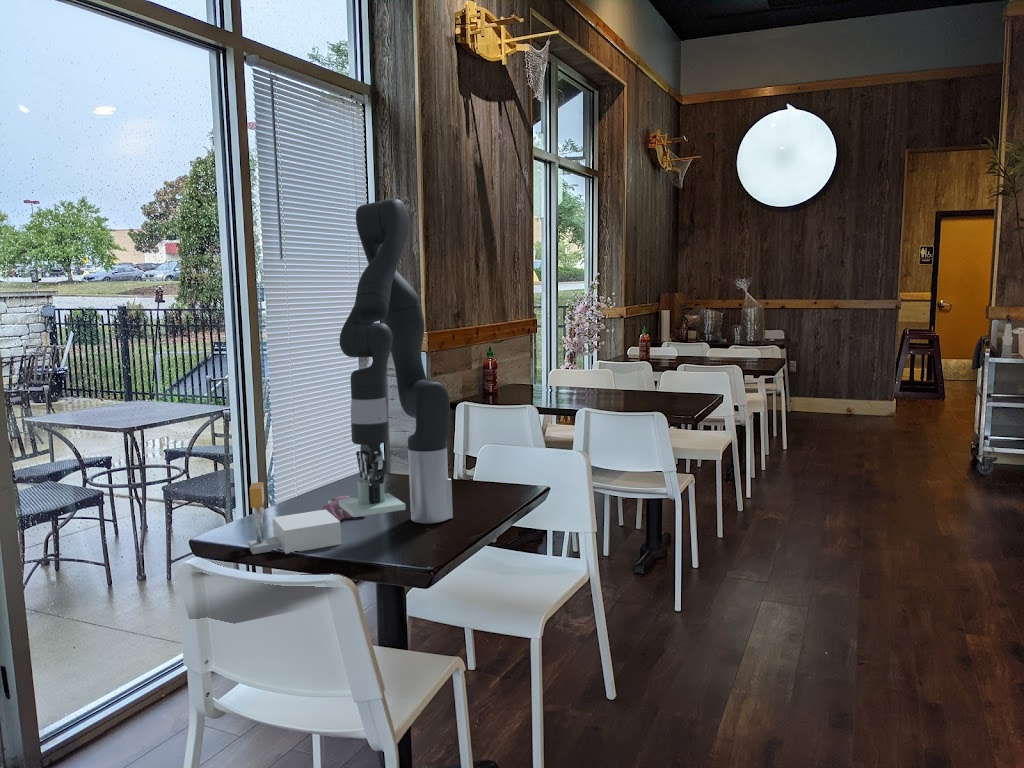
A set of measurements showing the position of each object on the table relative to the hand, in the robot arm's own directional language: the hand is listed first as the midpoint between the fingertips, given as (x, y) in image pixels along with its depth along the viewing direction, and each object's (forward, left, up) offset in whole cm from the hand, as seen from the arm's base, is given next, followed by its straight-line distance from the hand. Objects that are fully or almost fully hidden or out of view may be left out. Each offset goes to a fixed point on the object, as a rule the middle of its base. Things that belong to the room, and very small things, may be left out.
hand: (372, 501), depth 168 cm
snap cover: (0, 0, -1) cm, 1 cm away
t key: (+20, -16, -9) cm, 28 cm away
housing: (+14, -15, -11) cm, 23 cm away
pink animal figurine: (-1, -27, -11) cm, 29 cm away
